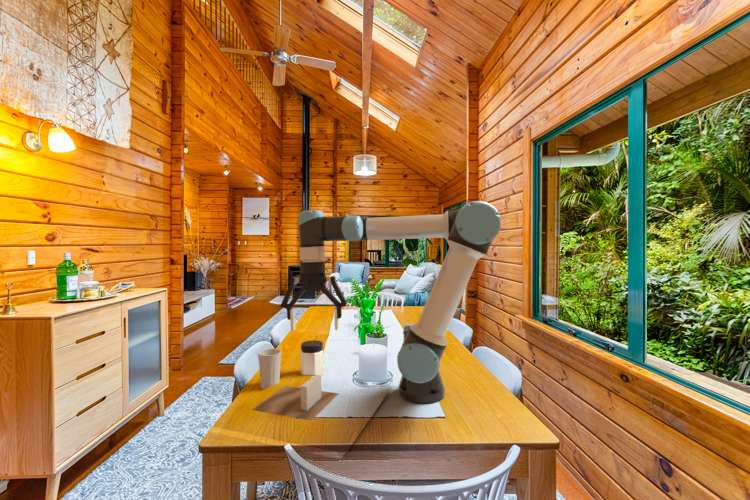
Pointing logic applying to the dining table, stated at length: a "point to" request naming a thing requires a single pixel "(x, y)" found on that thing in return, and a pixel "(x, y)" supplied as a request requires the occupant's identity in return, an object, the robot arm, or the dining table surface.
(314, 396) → the tile
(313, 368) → the jar
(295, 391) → the board
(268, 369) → the cup
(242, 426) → the dining table surface
